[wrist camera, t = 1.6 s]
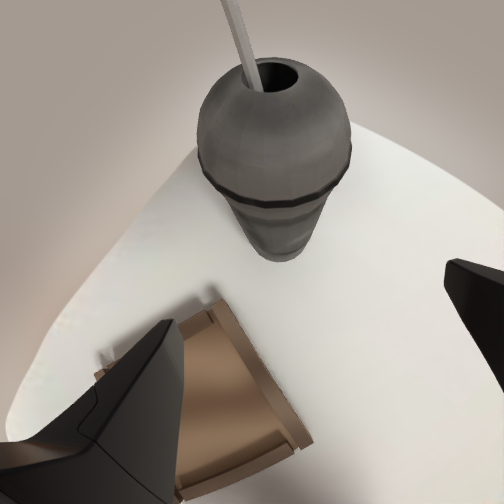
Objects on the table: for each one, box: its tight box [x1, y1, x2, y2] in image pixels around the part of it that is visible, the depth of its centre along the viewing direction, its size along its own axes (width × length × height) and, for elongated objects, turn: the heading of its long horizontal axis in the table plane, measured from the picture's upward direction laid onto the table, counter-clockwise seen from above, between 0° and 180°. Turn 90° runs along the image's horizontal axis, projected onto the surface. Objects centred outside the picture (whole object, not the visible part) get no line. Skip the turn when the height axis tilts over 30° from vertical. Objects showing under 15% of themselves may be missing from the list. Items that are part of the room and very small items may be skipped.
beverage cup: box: [197, 0, 352, 262], centre depth 15 cm, size 7×7×20 cm
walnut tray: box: [94, 299, 314, 504], centre depth 20 cm, size 12×12×2 cm
